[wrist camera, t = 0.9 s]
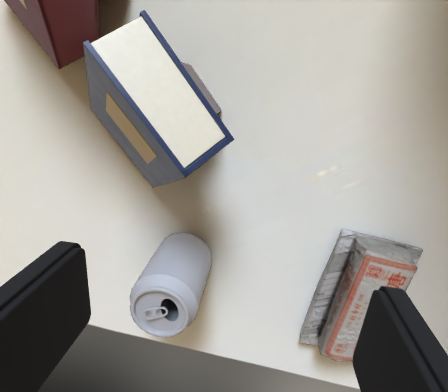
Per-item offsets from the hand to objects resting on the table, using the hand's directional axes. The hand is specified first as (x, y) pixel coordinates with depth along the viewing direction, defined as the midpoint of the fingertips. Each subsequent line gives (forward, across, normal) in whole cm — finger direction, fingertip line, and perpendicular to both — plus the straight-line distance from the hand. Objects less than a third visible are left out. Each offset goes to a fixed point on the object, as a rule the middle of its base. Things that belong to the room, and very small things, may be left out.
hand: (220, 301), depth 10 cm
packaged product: (+28, -16, +19) cm, 37 cm away
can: (+28, +7, +16) cm, 33 cm away
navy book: (+22, +8, -4) cm, 23 cm away
